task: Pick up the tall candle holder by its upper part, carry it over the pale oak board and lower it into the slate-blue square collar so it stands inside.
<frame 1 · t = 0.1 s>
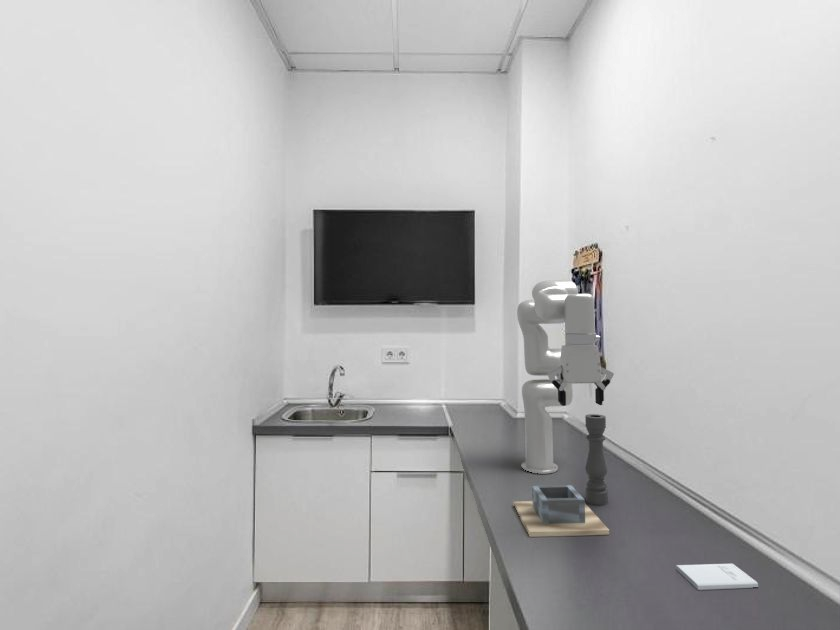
hand: (580, 404, 133), 31 cm above the table, tool pointing down, fingers open, 9 cm apart
candle holder: (596, 501, 148), on the table
external hard drive: (715, 581, 105), on the table
socket board: (557, 519, 135), on the table
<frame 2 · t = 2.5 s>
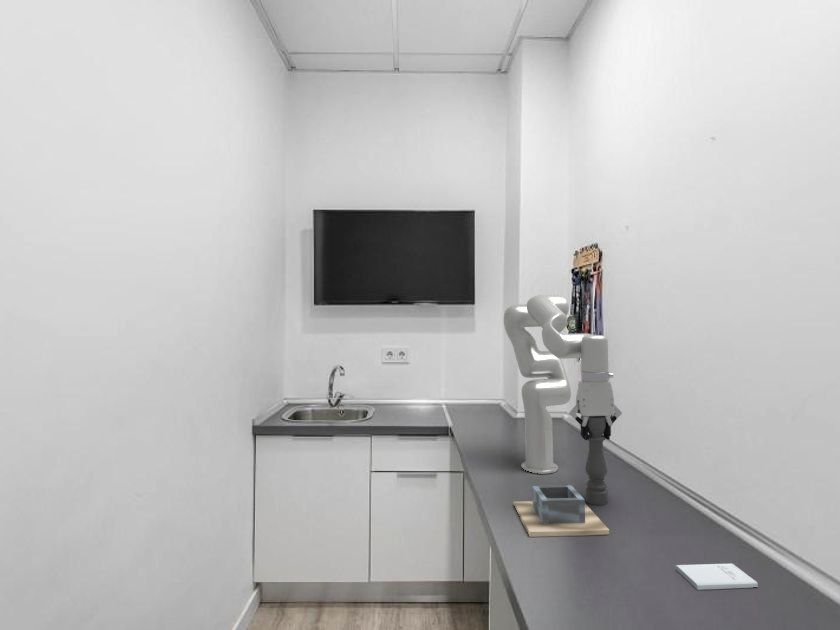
hand: (595, 438, 148), 19 cm above the table, tool pointing down, fingers closed on candle holder, 5 cm apart
candle holder: (596, 501, 148), on the table, touching gripper
everything else where it was.
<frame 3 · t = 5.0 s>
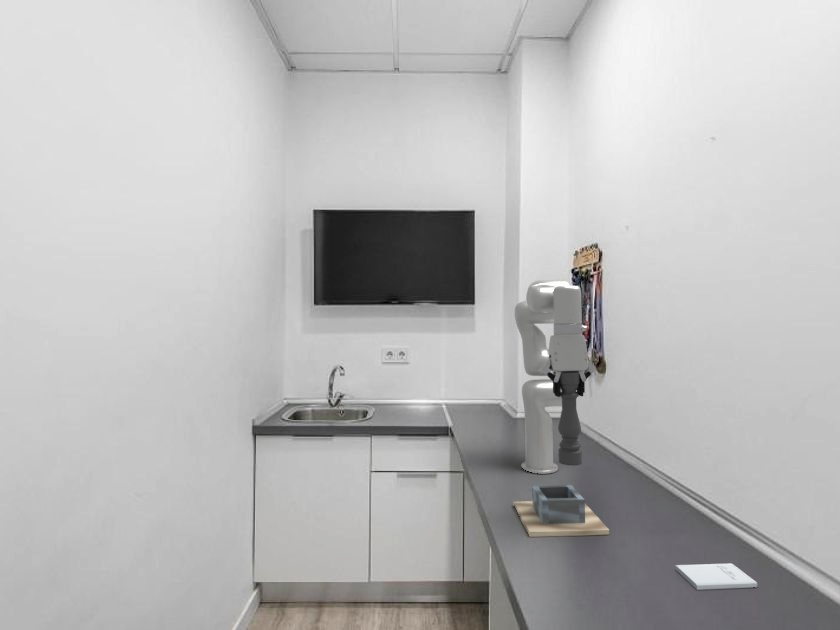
hand: (568, 395, 139), 33 cm above the table, tool pointing down, fingers closed on candle holder, 5 cm apart
candle holder: (570, 462, 139), point 14 cm above the table, touching gripper
everything else where it was.
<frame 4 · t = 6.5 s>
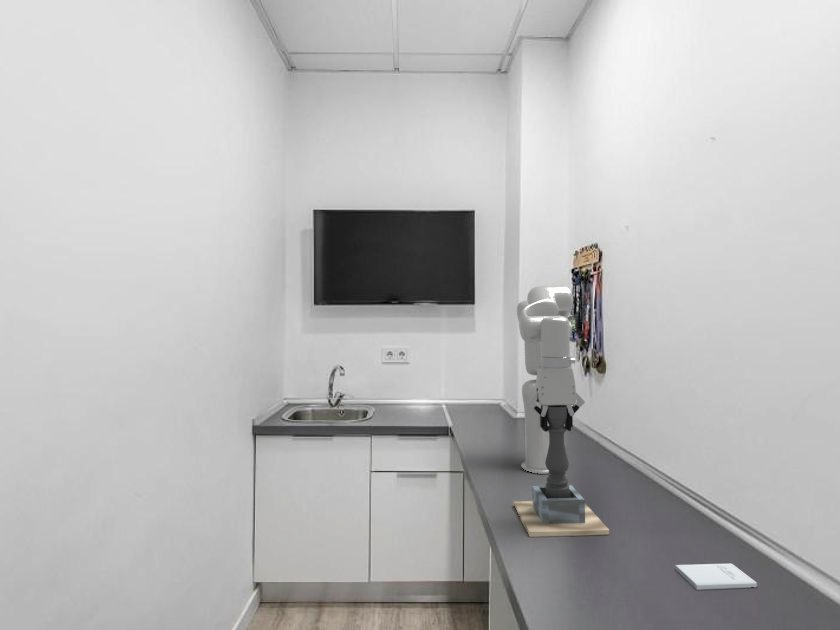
hand: (556, 429, 135), 24 cm above the table, tool pointing down, fingers closed on candle holder, 5 cm apart
candle holder: (557, 498, 135), point 6 cm above the table, touching gripper
everything else where it was.
when the fingers open (21 cm above the table, at t = 7.6 s): candle holder drops 1 cm, resting on socket board.
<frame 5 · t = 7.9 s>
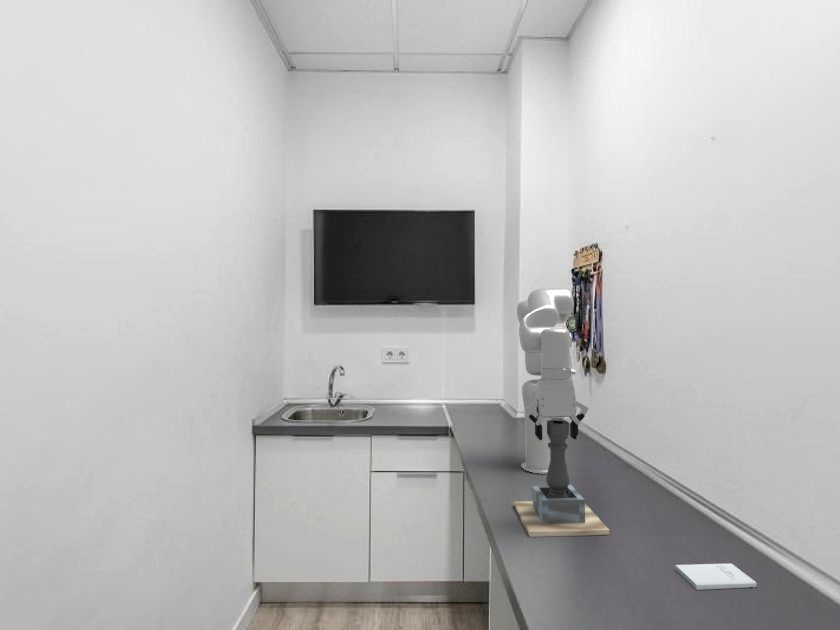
hand: (556, 438, 135), 22 cm above the table, tool pointing down, fingers open, 8 cm apart
candle holder: (557, 514, 136), point 1 cm above the table, touching socket board
everything else where it was.
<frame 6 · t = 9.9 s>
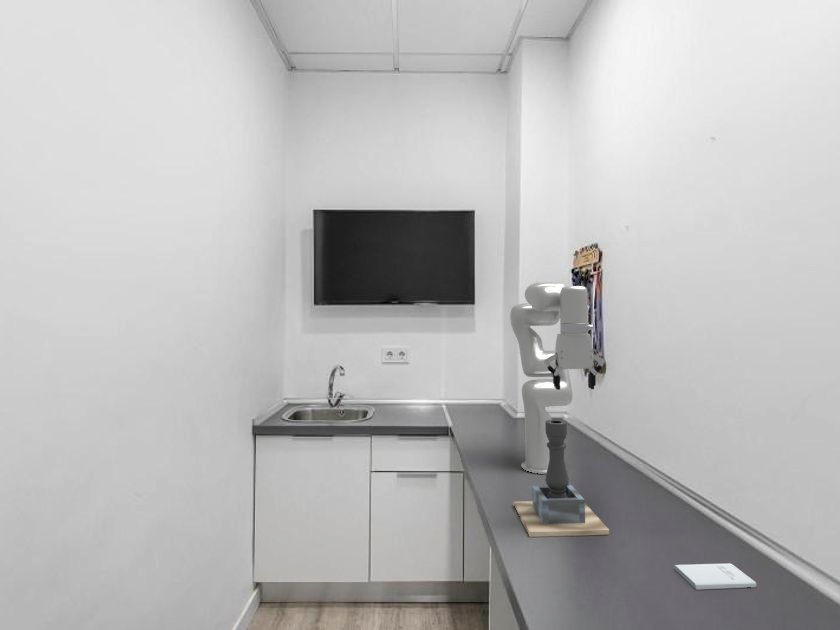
hand: (574, 388, 144), 34 cm above the table, tool pointing down, fingers open, 9 cm apart
nothing on the table moved.
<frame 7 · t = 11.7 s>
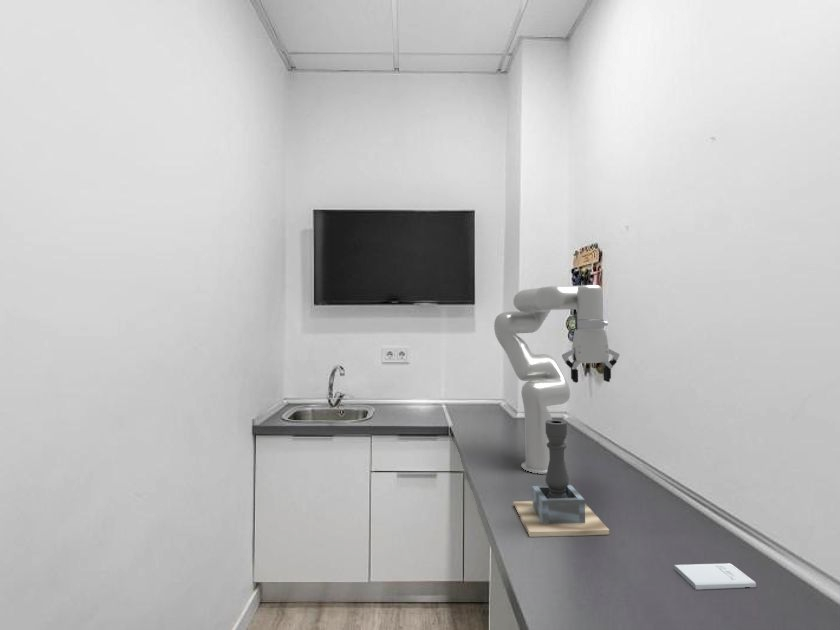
hand: (591, 381, 153), 34 cm above the table, tool pointing down, fingers open, 9 cm apart
nothing on the table moved.
at the end: candle holder 0.2 cm off-centre on the socket board, point 1.0 cm above the socket board's base; candle holder tilted 0°; the gripper is holding nothing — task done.
